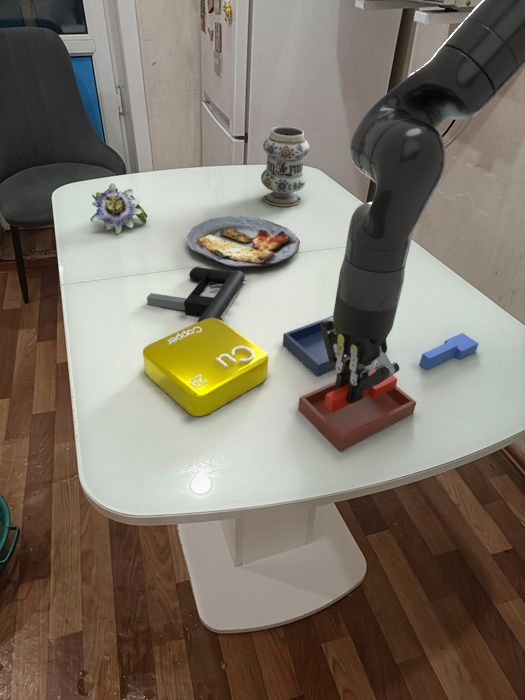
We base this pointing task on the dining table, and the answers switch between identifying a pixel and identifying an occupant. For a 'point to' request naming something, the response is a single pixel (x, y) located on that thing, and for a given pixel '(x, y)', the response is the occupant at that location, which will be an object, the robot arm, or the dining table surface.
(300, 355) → the navy tray
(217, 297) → the door handle
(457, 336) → the blue stepped block
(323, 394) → the rust tray
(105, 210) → the passion flower
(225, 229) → the food plate
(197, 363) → the element tile
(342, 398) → the red stepped block
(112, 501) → the dining table surface
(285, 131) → the apothecary jar
